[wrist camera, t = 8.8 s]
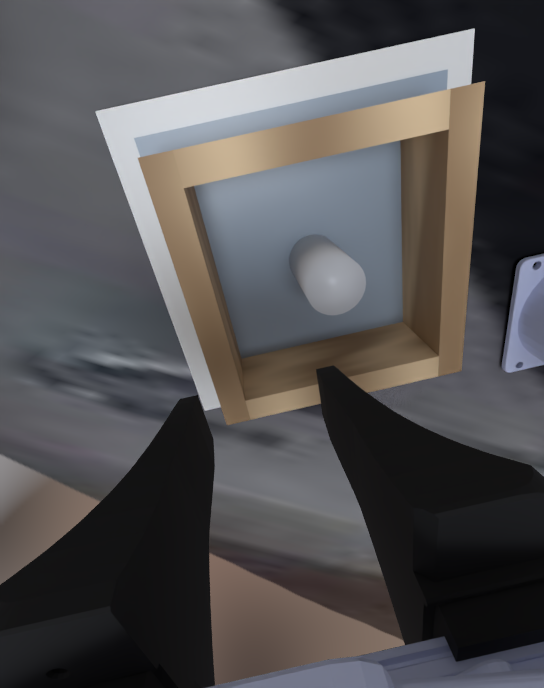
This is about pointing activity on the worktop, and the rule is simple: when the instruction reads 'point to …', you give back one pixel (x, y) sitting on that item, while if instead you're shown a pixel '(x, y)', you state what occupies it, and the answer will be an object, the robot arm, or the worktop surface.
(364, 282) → the post stand
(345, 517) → the worktop surface
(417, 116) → the wood collar
